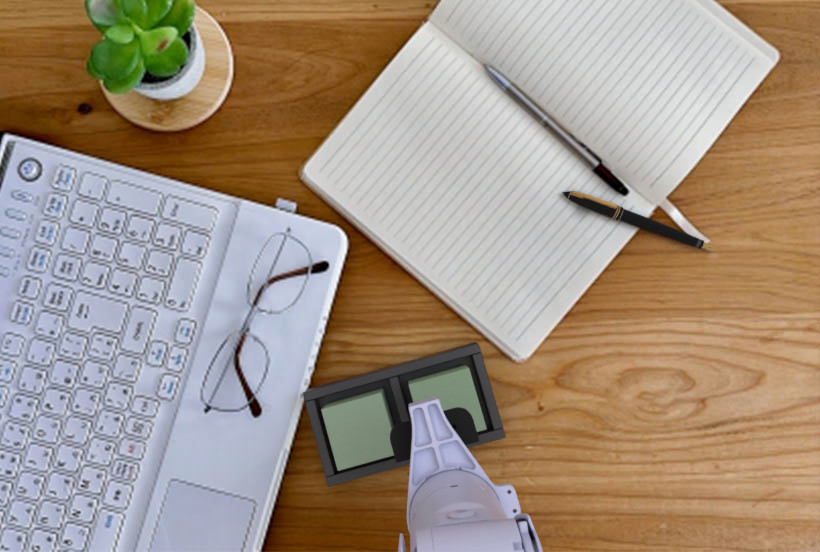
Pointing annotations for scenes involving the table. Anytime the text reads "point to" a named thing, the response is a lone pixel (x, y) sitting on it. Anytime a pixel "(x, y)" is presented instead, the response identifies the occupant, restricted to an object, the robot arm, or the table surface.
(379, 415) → the two-compartment tray
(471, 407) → the green block
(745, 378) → the table surface
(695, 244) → the fountain pen
